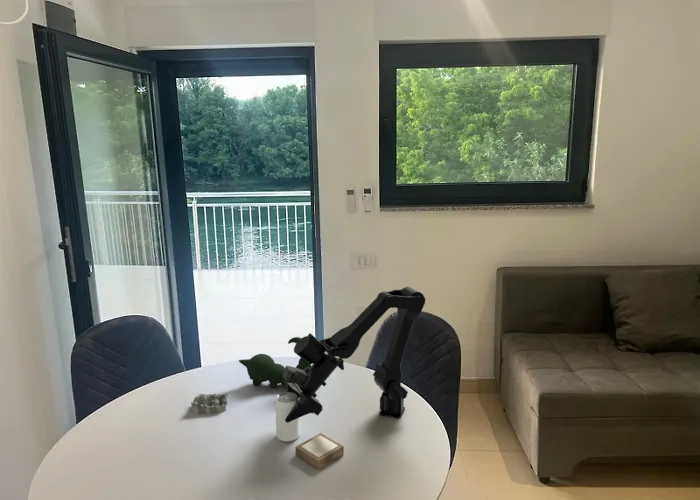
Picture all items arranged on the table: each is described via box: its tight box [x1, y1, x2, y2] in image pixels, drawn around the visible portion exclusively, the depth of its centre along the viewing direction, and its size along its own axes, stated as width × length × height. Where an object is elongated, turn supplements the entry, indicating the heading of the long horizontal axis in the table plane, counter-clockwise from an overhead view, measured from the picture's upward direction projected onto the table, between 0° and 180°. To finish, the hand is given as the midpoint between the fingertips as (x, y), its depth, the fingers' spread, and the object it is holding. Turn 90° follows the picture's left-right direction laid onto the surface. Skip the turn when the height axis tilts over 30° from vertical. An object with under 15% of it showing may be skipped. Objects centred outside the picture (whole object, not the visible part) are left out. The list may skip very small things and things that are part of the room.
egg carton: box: [190, 392, 228, 415], centre depth 158 cm, size 11×8×4 cm
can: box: [275, 391, 300, 443], centre depth 142 cm, size 6×6×12 cm
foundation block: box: [294, 432, 345, 471], centre depth 134 cm, size 9×9×3 cm
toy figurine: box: [238, 336, 312, 390], centre depth 172 cm, size 9×19×25 cm
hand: (282, 415), depth 142 cm, fingers closed on can, 6 cm apart
